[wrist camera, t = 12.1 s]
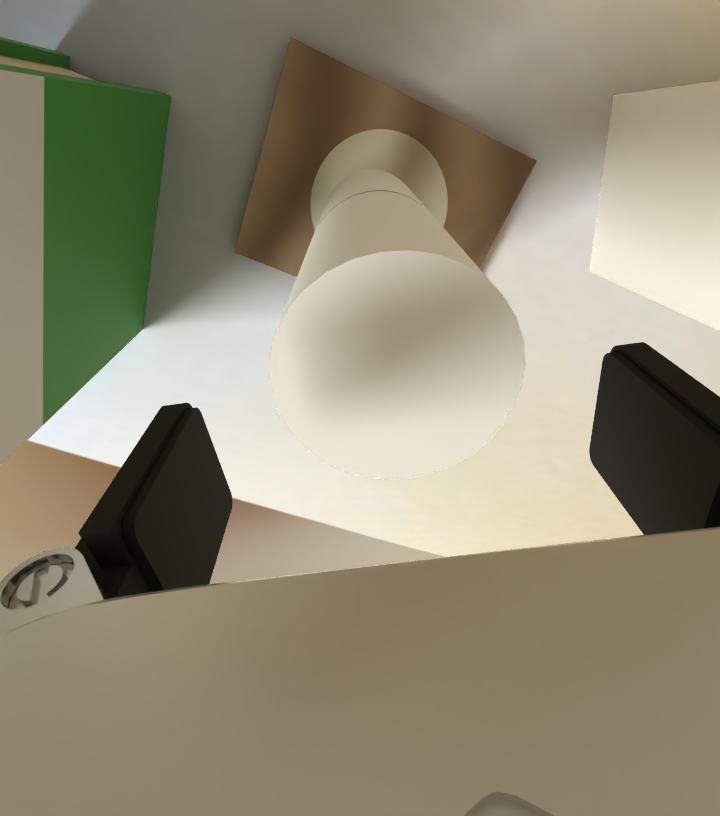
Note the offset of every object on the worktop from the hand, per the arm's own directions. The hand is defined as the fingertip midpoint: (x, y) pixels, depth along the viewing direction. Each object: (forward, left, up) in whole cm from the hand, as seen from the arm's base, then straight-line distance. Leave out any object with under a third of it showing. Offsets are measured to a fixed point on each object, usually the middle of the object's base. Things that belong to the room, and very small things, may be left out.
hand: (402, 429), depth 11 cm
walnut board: (0, +1, -29) cm, 29 cm away
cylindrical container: (0, 0, -28) cm, 28 cm away
